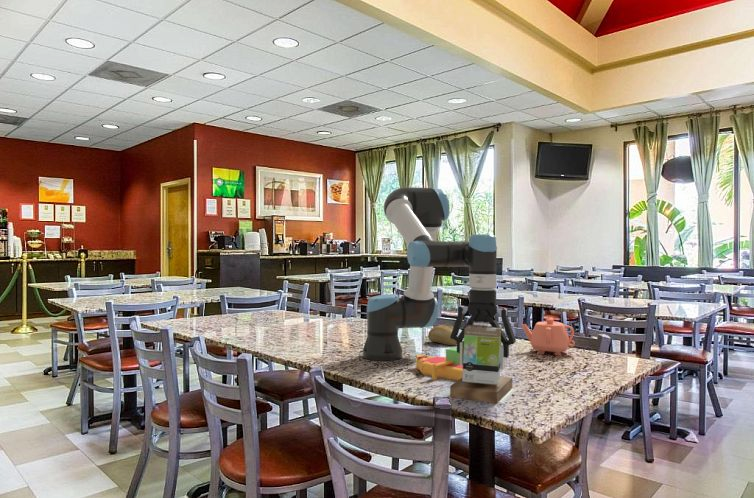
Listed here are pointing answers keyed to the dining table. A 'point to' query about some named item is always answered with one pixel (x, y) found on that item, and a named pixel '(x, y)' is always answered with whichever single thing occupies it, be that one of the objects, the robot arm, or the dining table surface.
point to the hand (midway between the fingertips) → (482, 366)
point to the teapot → (549, 337)
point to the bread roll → (442, 335)
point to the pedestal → (481, 390)
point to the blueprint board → (502, 401)
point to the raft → (441, 365)
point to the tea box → (481, 353)
